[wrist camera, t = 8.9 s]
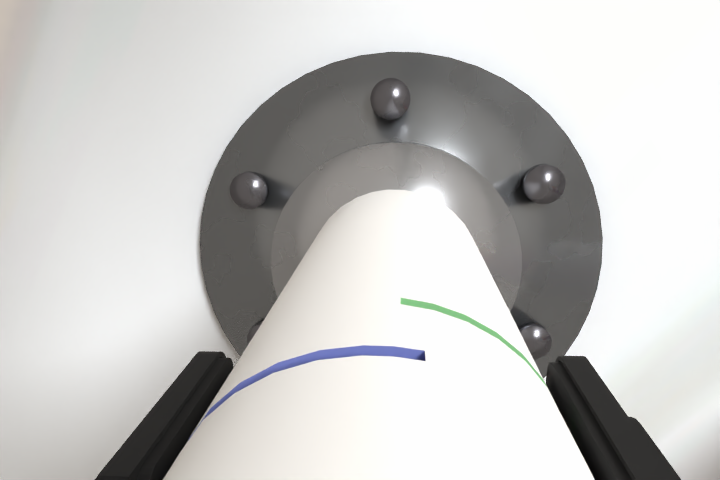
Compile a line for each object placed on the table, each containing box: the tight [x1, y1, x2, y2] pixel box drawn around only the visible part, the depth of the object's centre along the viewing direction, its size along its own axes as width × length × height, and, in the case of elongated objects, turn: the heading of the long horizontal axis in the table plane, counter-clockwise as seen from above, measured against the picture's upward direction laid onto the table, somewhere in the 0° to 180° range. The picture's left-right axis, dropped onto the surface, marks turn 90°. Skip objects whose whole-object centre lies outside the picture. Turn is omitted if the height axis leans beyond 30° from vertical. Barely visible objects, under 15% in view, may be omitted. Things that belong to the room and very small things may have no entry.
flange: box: [200, 52, 602, 378], centre depth 21 cm, size 18×18×1 cm
